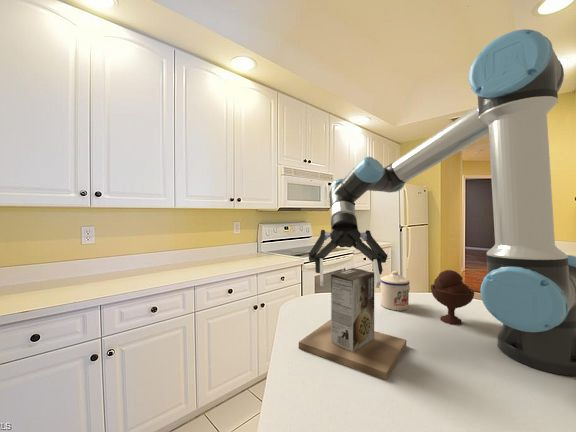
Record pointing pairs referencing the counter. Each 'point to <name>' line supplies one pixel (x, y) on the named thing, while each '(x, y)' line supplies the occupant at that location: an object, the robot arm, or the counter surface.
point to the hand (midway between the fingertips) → (349, 284)
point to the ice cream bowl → (451, 294)
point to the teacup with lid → (395, 292)
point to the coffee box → (352, 308)
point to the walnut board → (357, 351)
